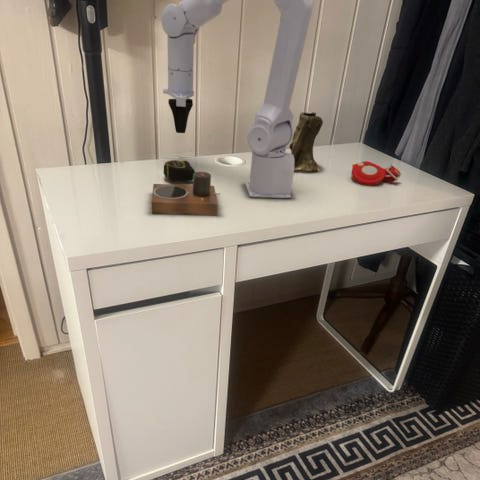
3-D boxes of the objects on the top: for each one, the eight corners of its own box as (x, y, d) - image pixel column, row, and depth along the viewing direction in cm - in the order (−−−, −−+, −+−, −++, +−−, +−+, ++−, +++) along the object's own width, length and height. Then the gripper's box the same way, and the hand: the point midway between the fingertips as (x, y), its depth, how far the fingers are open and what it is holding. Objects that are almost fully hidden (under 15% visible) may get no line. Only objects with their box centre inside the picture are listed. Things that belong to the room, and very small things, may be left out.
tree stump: (295, 158, 129) (302, 106, 121) (325, 167, 125) (335, 114, 117) (275, 166, 123) (282, 112, 115) (307, 176, 118) (316, 120, 110)
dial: (192, 190, 97) (192, 169, 95) (209, 190, 98) (210, 170, 95) (193, 196, 94) (193, 175, 92) (210, 197, 95) (211, 176, 92)
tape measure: (196, 184, 107) (196, 168, 105) (166, 185, 105) (166, 169, 103) (189, 174, 113) (189, 158, 110) (161, 175, 111) (161, 159, 108)
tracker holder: (364, 183, 113) (343, 161, 119) (361, 198, 117) (341, 175, 122) (407, 170, 115) (385, 148, 121) (402, 184, 119) (381, 163, 125)
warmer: (217, 196, 102) (218, 185, 100) (221, 215, 94) (222, 202, 92) (153, 195, 100) (153, 182, 99) (152, 213, 92) (151, 200, 91)
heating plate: (187, 187, 98) (187, 185, 98) (188, 199, 93) (188, 198, 93) (154, 186, 98) (154, 184, 97) (152, 198, 92) (152, 197, 92)
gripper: (163, 63, 109) (164, 123, 117) (161, 73, 98) (163, 139, 106) (193, 65, 110) (192, 125, 118) (195, 75, 99) (194, 141, 107)
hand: (180, 132), depth 112 cm, fingers closed
